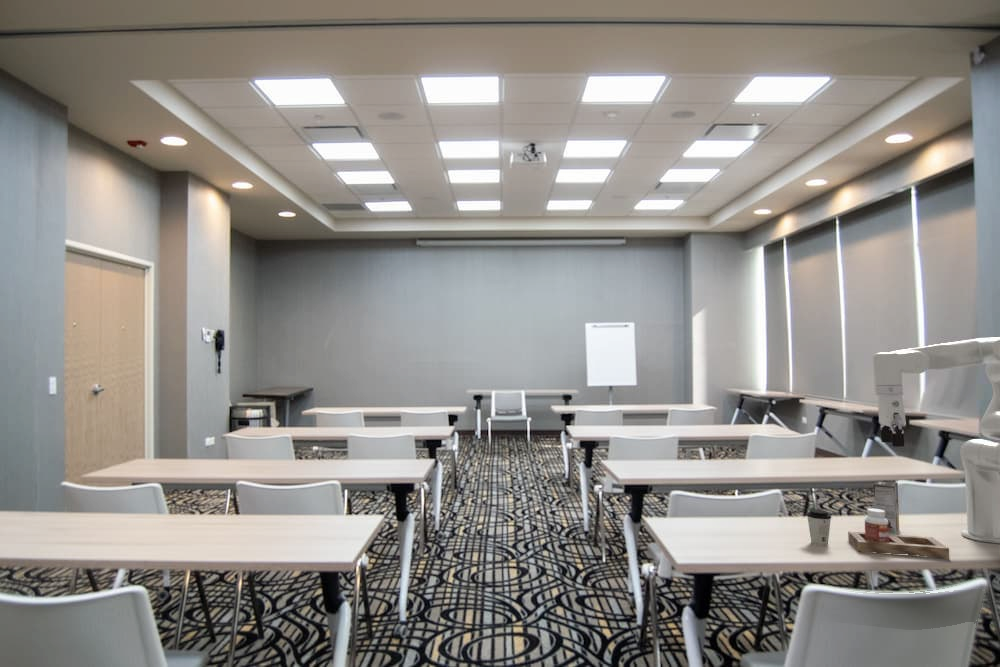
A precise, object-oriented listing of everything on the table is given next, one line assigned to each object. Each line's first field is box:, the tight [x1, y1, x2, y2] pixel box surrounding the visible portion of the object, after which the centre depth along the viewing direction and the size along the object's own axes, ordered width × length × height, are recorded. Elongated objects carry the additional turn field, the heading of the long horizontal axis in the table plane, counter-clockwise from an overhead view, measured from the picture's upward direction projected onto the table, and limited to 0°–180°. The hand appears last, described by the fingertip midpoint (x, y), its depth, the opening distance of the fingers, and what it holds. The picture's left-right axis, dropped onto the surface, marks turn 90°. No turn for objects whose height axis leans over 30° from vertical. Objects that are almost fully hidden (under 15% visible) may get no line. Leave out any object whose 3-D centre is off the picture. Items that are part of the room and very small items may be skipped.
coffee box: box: [873, 480, 900, 535], centre depth 203 cm, size 9×6×16 cm
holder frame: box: [847, 531, 950, 559], centre depth 182 cm, size 23×12×3 cm, turn 74°
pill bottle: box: [864, 508, 889, 542], centre depth 184 cm, size 6×6×11 cm
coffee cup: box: [806, 508, 832, 546], centre depth 188 cm, size 7×7×10 cm
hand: (892, 444), depth 193 cm, fingers open, 9 cm apart
